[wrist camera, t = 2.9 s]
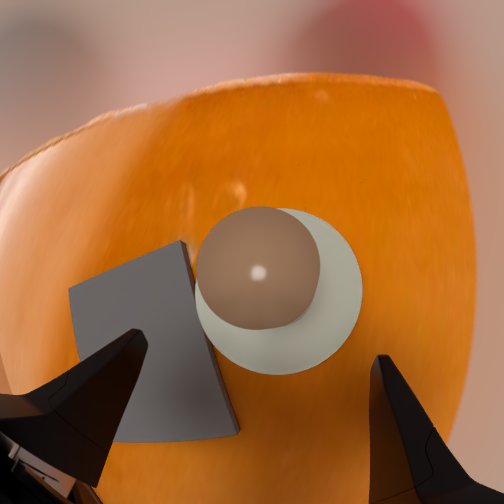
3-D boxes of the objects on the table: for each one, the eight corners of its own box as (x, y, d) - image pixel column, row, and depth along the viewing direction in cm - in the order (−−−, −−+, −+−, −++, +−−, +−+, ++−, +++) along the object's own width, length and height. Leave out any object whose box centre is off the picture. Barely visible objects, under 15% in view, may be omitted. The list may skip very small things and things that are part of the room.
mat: (240, 430, 18) (236, 434, 17) (110, 438, 19) (104, 441, 18) (185, 243, 22) (180, 240, 22) (74, 290, 24) (68, 288, 23)
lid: (389, 305, 15) (446, 290, 8) (257, 400, 15) (220, 451, 8) (294, 187, 18) (283, 111, 11) (175, 273, 18) (104, 242, 11)
